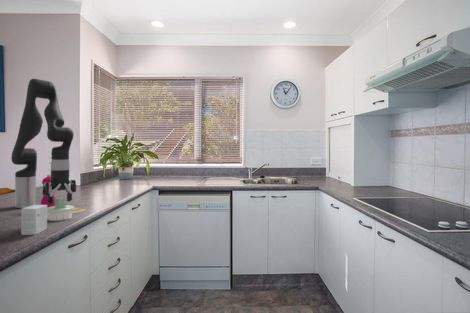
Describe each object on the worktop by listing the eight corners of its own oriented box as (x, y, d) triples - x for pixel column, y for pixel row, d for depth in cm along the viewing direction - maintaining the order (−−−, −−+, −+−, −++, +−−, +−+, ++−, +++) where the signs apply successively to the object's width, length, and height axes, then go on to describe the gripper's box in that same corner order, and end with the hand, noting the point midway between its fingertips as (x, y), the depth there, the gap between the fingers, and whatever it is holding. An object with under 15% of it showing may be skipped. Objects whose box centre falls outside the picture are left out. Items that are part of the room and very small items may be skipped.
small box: (33, 229, 116) (33, 204, 116) (47, 229, 117) (47, 204, 117) (20, 235, 108) (20, 208, 108) (35, 235, 109) (35, 208, 109)
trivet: (51, 213, 143) (51, 211, 143) (73, 209, 154) (73, 207, 154) (65, 216, 138) (65, 214, 138) (87, 211, 148) (87, 210, 148)
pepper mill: (48, 213, 144) (48, 175, 143) (37, 212, 145) (37, 174, 144) (59, 210, 151) (60, 173, 150) (48, 209, 152) (49, 173, 151)
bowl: (42, 220, 129) (42, 210, 129) (64, 216, 138) (64, 206, 138) (55, 223, 125) (55, 212, 125) (76, 219, 134) (76, 208, 134)
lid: (40, 210, 129) (40, 198, 129) (64, 205, 139) (64, 195, 139) (54, 213, 124) (54, 201, 124) (79, 208, 134) (79, 197, 134)
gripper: (70, 167, 139) (69, 199, 139) (39, 169, 126) (39, 204, 127) (79, 168, 135) (79, 201, 136) (49, 170, 123) (48, 206, 123)
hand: (59, 202), depth 131 cm, fingers open, 8 cm apart
